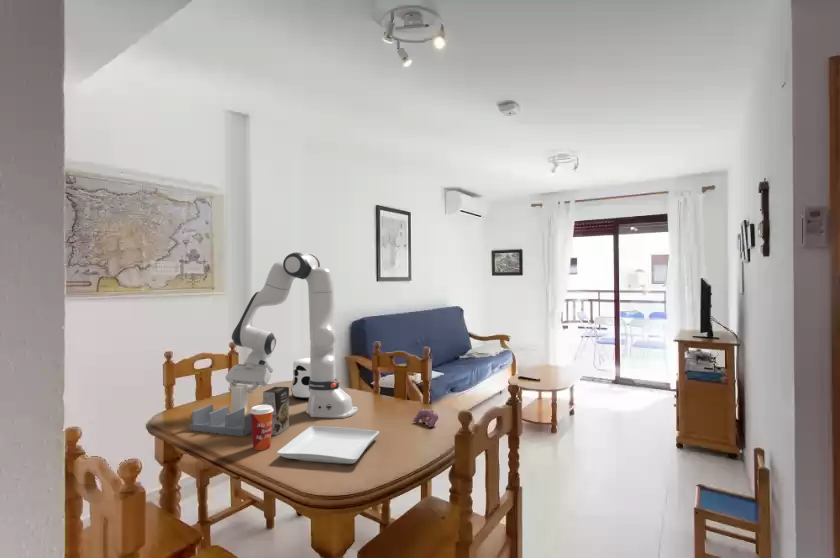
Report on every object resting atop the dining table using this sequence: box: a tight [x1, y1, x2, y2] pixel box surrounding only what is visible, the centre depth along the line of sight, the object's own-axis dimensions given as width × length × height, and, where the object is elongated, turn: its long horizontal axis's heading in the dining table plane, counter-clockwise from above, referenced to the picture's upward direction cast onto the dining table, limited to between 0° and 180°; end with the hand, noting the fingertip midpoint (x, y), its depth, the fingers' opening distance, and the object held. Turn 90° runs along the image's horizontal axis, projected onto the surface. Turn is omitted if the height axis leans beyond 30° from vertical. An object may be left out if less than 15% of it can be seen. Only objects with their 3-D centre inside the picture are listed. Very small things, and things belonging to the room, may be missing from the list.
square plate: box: [276, 425, 380, 465], centre depth 152 cm, size 27×27×4 cm
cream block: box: [230, 384, 248, 414], centre depth 191 cm, size 4×4×12 cm
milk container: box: [290, 357, 310, 400], centre depth 220 cm, size 17×17×18 cm
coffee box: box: [262, 386, 290, 436], centre depth 170 cm, size 9×6×16 cm
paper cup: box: [249, 404, 274, 451], centre depth 153 cm, size 8×8×14 cm
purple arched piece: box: [412, 408, 439, 428], centre depth 179 cm, size 10×5×7 cm, turn 48°
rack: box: [189, 404, 252, 437], centre depth 172 cm, size 24×12×7 cm, turn 75°
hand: (239, 391), depth 191 cm, fingers open, 8 cm apart
